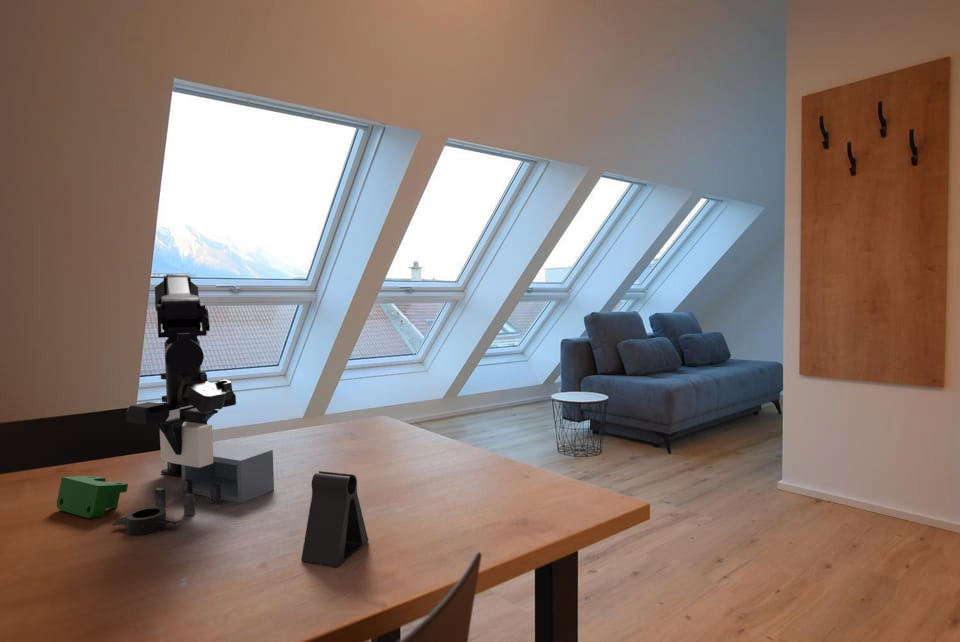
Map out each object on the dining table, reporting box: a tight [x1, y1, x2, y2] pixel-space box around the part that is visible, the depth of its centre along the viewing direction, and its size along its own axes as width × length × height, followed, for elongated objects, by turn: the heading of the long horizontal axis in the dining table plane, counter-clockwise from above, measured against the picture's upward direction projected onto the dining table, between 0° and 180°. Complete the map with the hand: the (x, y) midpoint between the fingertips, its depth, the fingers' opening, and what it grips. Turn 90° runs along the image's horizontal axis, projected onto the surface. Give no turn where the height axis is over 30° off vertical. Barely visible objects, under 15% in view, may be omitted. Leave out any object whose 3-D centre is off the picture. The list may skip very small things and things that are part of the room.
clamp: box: [56, 475, 129, 519], centre depth 108 cm, size 12×6×9 cm, turn 57°
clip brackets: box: [154, 479, 222, 517], centre depth 109 cm, size 9×7×4 cm
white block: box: [159, 421, 214, 468], centre depth 109 cm, size 10×4×7 cm, turn 65°
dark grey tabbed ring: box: [111, 506, 181, 537], centre depth 99 cm, size 8×10×3 cm
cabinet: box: [181, 441, 275, 504], centre depth 117 cm, size 16×8×8 cm, turn 65°
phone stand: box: [300, 470, 369, 568], centre depth 89 cm, size 9×6×12 cm, turn 161°
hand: (186, 452), depth 109 cm, fingers closed on white block, 3 cm apart
